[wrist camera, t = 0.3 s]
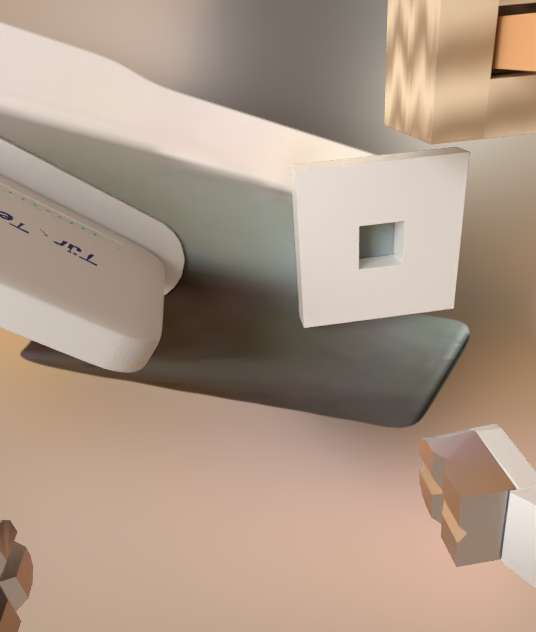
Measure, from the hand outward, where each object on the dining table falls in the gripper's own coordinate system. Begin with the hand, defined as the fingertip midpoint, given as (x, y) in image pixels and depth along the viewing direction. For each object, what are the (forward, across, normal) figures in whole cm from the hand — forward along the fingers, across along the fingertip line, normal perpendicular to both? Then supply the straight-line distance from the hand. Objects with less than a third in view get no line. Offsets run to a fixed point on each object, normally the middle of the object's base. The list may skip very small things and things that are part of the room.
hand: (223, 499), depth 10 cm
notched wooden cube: (+47, -26, -5) cm, 54 cm away
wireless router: (+47, +18, +5) cm, 50 cm away
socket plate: (+47, -17, +14) cm, 52 cm away
